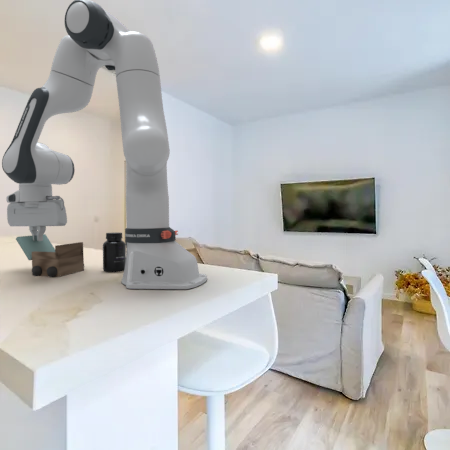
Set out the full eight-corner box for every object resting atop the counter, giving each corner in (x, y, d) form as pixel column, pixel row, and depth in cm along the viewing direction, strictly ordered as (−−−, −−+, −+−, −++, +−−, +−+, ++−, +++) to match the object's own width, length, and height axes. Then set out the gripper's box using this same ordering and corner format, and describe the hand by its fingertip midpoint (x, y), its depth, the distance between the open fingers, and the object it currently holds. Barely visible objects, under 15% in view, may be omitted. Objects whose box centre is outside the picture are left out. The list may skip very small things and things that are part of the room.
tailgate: (57, 253, 101) (45, 234, 102) (31, 258, 92) (17, 236, 93) (54, 256, 102) (42, 237, 103) (27, 261, 92) (14, 239, 93)
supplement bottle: (121, 272, 94) (120, 233, 94) (99, 272, 94) (98, 233, 94) (129, 268, 101) (128, 231, 100) (108, 268, 101) (107, 232, 101)
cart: (85, 269, 99) (84, 241, 99) (56, 277, 88) (55, 246, 88) (61, 268, 102) (60, 241, 102) (30, 275, 91) (28, 245, 90)
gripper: (71, 195, 96) (72, 240, 97) (20, 198, 102) (22, 239, 103) (54, 194, 90) (56, 242, 91) (2, 197, 96) (4, 241, 97)
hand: (38, 240), depth 97 cm, fingers closed
